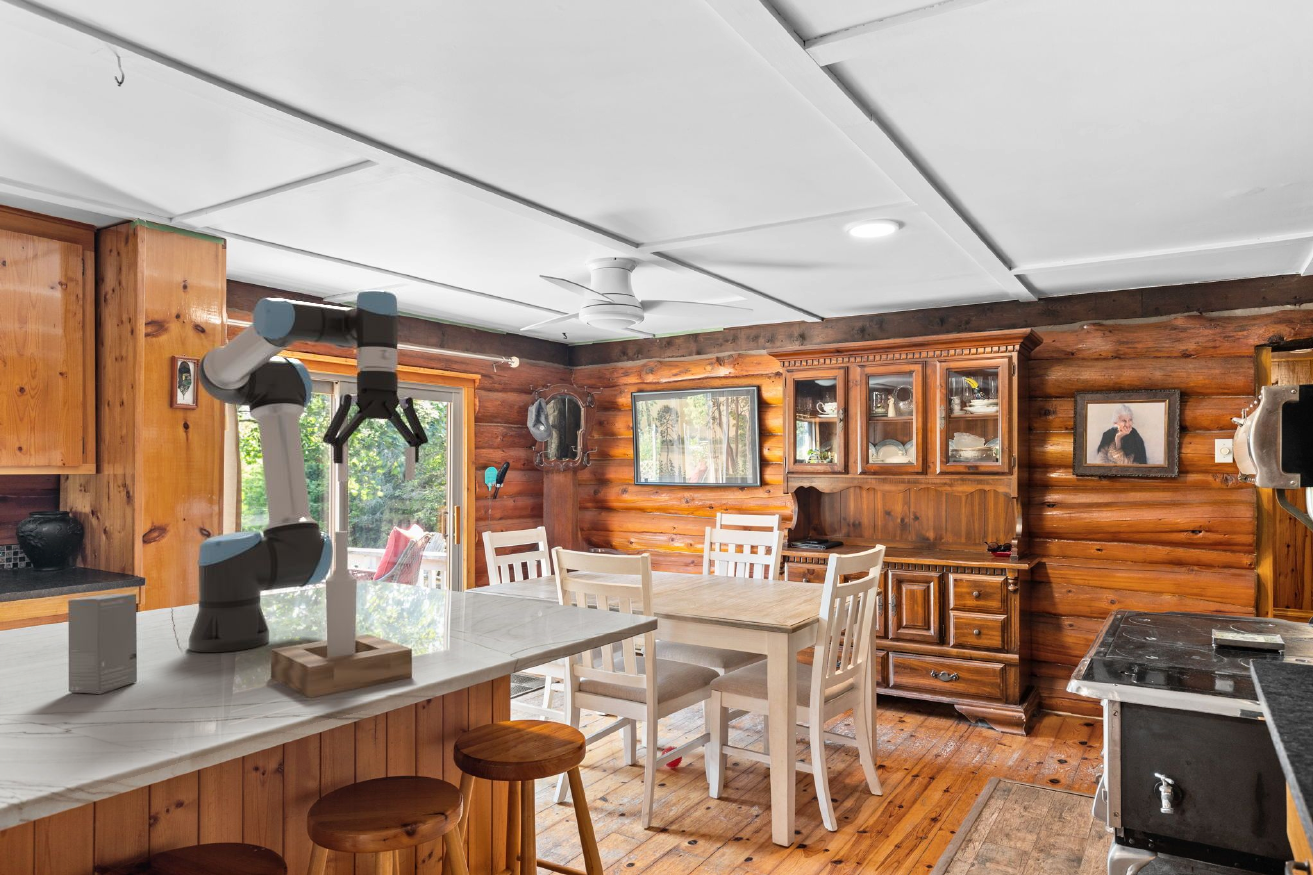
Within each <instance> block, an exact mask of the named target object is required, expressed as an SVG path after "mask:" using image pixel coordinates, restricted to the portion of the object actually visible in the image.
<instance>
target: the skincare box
mask: <svg viewBox="0 0 1313 875" xmlns="http://www.w3.org/2000/svg"><path fill="white" fill-rule="evenodd" d="M67 605H68V607H67V608H68V613H67V614H68V615H67V616H68V693H78V694H79V693H83V694H84V693H85V694H96V695H100V694H104V693H108V692H111V691H113V690H117V689H119V688H123V687H125V686H127V685H131V684H134V683H137V681H138V668H137V667H138V666H137V664H138V662H137V661H138V659H137V658H138V655H137V654H138V653H137V650H138V649H137V648H138V647H137V640H138V639H137V632H138V631H137V629H138V628H137V593H113V594H112V593H108V594H107V593H106V594H100V595H91V596H85V597H84V596H83V597H77V598H72V599H69V600H68V601H67Z"/></svg>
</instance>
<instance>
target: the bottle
mask: <svg viewBox="0 0 1313 875" xmlns="http://www.w3.org/2000/svg"><path fill="white" fill-rule="evenodd" d="M334 534H335V535H334V543H335V549H334V550H335V552H334V554H335V555H334V556H335V557H334V558H335V560H334V562H335V565H334V566H335V568H334V569H333V571H332V574H331V575H329V577H327V579H325V599H326V600H325V602H326V603H325V606H326V610H325V612H326V613H325V614H326V641H327V658H331V657H336V656H342V655H348V654H354V653H355V637H356V636H357V635H356V634H357V633H356V632H357V630H356V629H357V627H356V625H357V621H356V620H357V588H358V587H357V579H358V578H357V577H356V576H354V574H352V573H351V572H350V569H349V568H348V531H347V530H341V531H340V530H339V531H335V532H334Z"/></svg>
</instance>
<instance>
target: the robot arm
mask: <svg viewBox="0 0 1313 875" xmlns="http://www.w3.org/2000/svg"><path fill="white" fill-rule="evenodd" d="M356 296H357V297H356V302H355V307H341V306H334V305H333V306H332V305H327V304H326V305H324V304H318V303H311V302H304V301H296V300H290V299H285V298H280V297H279V298H278V297H277V298H271V297H264V298H261V299H260V300H258V302H257V303H256V305H255V306H256V307H255V308H254V310H253V315H252V323H250V325H248V327H246V328H245V329H244V330H242V331H241V332H240V333H239V334H237V335H236V336H235V337H234V338H233V339H231V340H230V341H229V342H228V343H226V344H225V345H224V346H223V345H222V346H217V347H214V348H212V349H211V350H209V351H208V352H207V353H206V354H205V355H204V356H203V357H202V358H201V360H200V361H199V365H198V368H197V377H198V380H199V384H200V385H201V387H202V388H203V390H205V392H206V393H207V394H208V395H209V396H210V397H212V398H214V399H215V400H217V401H220V402H222V403H225V404H229V405H235V406H236V405H237V406H249V407H248V408H249V416H250V417H251V418H253V419H254V420H255V421H257V422H258V430H259V432H258V433H259V439H260V448H261V457H262V458H261V459H262V466H263V476H264V483H265V484H264V486H265V493H266V500H267V501H266V503H267V512H268V524H267V525H266V527H264V528H263V530H262V533H263V536H262V535H261V532H260V531H258V530H247V531H241V532H232V533H225V534H221V535H216V536H213V537H209V538H207V539H205V540H204V541H203V542H201V544H200V546H199V554H198V561H197V565H198V611H197V614H196V617H195V620H194V623H193V626H192V629H191V631H190V634H189V636H188V637H189V638H188V649H189V651H192V652H198V653H223V652H235V651H242V650H247V649H253V648H257V647H261V646H263V645H266V644H268V643H269V642H270V629H269V626H268V623H267V620H266V618H265V615H264V612H263V609H262V607H261V592H263V591H271V590H272V591H273V590H281V589H287V588H288V589H290V588H296V587H299V588H303V587H306V586H311V585H317V584H319V583H321V582H323V580H325V578H326V577H327V576H328V574H329V571H330V569H331V566H332V562H333V558H334V556H333V555H334V547H333V542H332V539H331V537H330V535H329V534H328V532H327V533H326V532H323V531H320V523H319V522H318V521H317V520H315V519H314V518H312V516H311V511H310V510H311V507H310V502H309V501H310V500H309V493H308V485H307V483H308V482H307V476H306V470H305V462H304V461H305V460H304V453H303V445H302V444H303V443H302V436H301V427H300V419H299V418H300V417H301V416H302V415H303V414H304V412H305V411H306V410H305V407H307V406H308V405H309V404H310V402H311V399H312V397H313V396H312V395H313V394H312V392H313V382H312V378H311V374H310V371H309V369H308V368H307V366H306V365H305V364H304V362H303V363H302V361H300V360H299V359H296V358H291V357H290V358H288V357H286V356H278V355H279V354H280V353H282V351H284V350H286V349H287V348H288V347H290V346H291V345H293V344H294V343H296V342H307V343H316V344H317V343H318V344H326V345H332V346H334V347H336V348H341V349H342V348H347V349H350V348H351V349H352V348H354V347H356V368H357V370H359V371H358V372H357V373H356V390H357V393H356V396H354V395H351V394H349V393H346V394H341V395H340V398H339V404H338V408H337V411H336V412H335V413H334V416H333V418H332V420H331V422H330V424H329V426H328V428H327V430H326V431H325V434H324V436H323V437H322V442H323V443H324V444H328V445H330V446H331V447H332V450H333V455H332V456H333V458H332V459H333V463H334V464H337V482H348V481H349V466H348V465H349V455H348V454H349V446H344V445H345V443H346V442H347V441H348V440H349V439H350V438H351V436H352V435H353V434H354V433H355V432H356V430H357V429H358V428H359V427H360V425H362V423H363V422H364V421H366V419H367V420H374V419H377V420H387V421H389V422H390V423H391V424H392V425H393V427H394V428H395V430H396V431H397V432H398V433H399V434H400V436H401V437H402V438H403V440H404V441H405V442H406V444H408V446H405V447H404V448H405V449H404V452H405V453H404V454H405V455H404V457H405V458H404V460H405V462H404V468H405V470H404V474H405V475H404V476H405V477H404V478H405V479H404V480H406V481H407V480H411V481H412V480H413V481H415V480H416V464H417V463H419V461H420V447H421V446H422V445H424V444H428V442H429V439H428V436H427V434H426V432H425V430H424V427H423V426H422V423H421V421H420V418H419V416H418V414H417V412H416V410H415V407H414V399H413V397H411V396H407V397H403V398H399V397H398V391H399V390H398V389H399V388H398V386H399V384H398V383H399V382H398V381H399V380H398V376H399V375H398V373H397V372H395V371H397V370H398V366H399V365H398V359H399V358H398V343H399V342H398V339H399V338H398V337H399V334H398V333H399V330H398V328H399V327H398V326H399V311H398V298H397V296H396V294H394V293H393V292H389V291H385V290H376V289H375V290H374V289H372V290H370V289H369V290H362V291H360V292H358V293H357V295H356ZM354 405H356V406H357V408H358V409H357V411H356V412H355V414H354V415H353V417H352V419H351V420H350V421H349V422H347V424H346V426H344V428H343V429H342V430H341V428H342V426H343V424H344V422H345V420H346V418H347V415H348V414H349V412H350V410H351V407H354ZM398 407H400V408H401V409H402V412H403V415H404V416H405V418H406V421H407V423H408V424H409V425H408V424H406V422H405V421H404V420H403V418H402V416H401V414H400V413H399V412H398V411H397V408H398ZM340 430H341V431H340Z"/></svg>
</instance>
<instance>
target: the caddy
mask: <svg viewBox="0 0 1313 875" xmlns="http://www.w3.org/2000/svg"><path fill="white" fill-rule="evenodd" d="M412 677H413V648H410V647H409V646H404V645H402V644H399V643H395V642H393V641H389V640H388V639H383V638H381V637H379V636H375V635H372V634H369V633H366V634H365V633H364V634H360V635H356V637H355V653H354V654H348V655H342V656H336V657H331V658H327V640H321V641H315V642H309V643H303V644H297V645H290V646H289V645H288V646H283V647H278V648H271V649H270V678H272V679H273V680H275V681H277V682H279V683H281V684H282V685H284V686H286V687H288V688H289V689H293V690H294V691H296V692H297V693H300V694H301V695H303V696H306V697H307V698H309V699H310V698H315V697H320V696H325V695H329V694H334V693H340V692H344V691H350V690H355V689H360V688H365V687H370V686H375V685H379V684H385V683H389V682H395V681H399V680H406V679H409V678H412Z"/></svg>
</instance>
